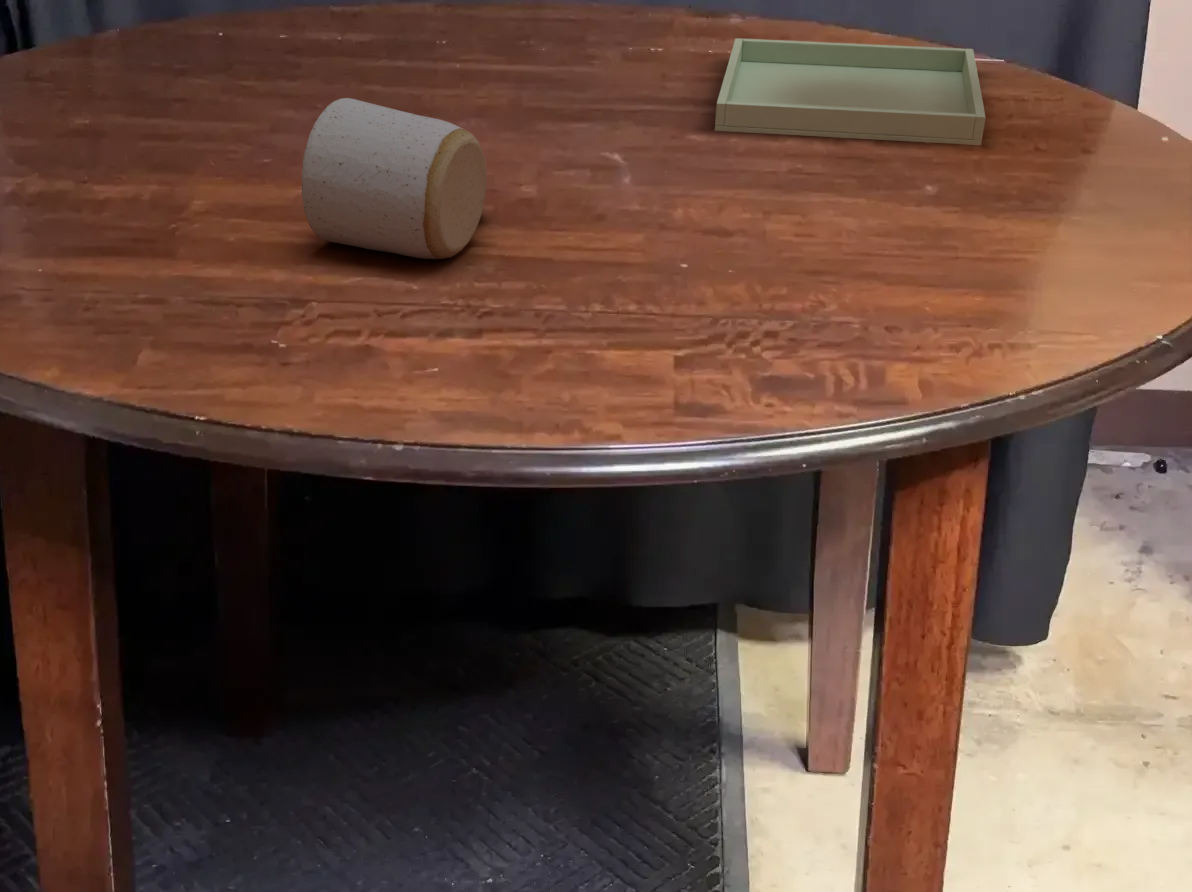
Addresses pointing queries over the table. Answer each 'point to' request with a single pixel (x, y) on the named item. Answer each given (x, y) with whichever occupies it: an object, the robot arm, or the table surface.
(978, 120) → the tray
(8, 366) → the table surface
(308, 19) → the table surface
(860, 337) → the table surface
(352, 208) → the ceramic mug
